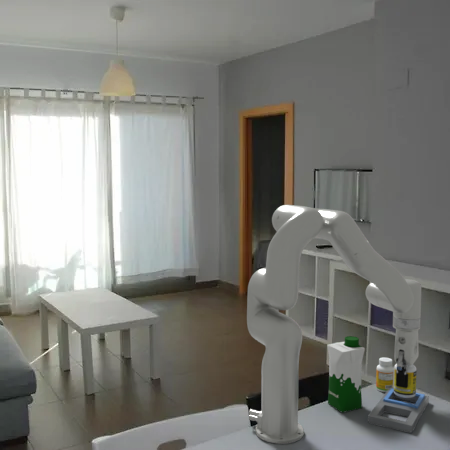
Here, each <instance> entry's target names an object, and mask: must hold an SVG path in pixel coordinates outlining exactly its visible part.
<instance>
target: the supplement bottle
mask: <svg viewBox="0 0 450 450" xmlns="http://www.w3.org/2000/svg"><path fill="white" fill-rule="evenodd" d="M375 374H376V375H375V389H376V390H377V391H378V392H382V393H386V392H387V391H388V389H389V388H390V389H392V388H394V366H393V359H392V358H389V357H386V356H385V357H383V356H382V357H380V358H379V359H378V364H377V366H376V373H375Z"/></svg>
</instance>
